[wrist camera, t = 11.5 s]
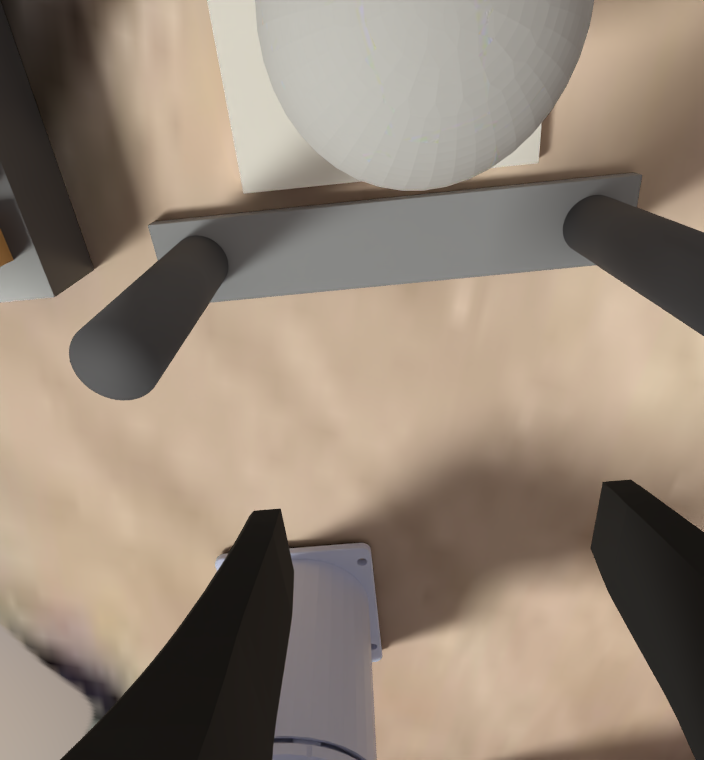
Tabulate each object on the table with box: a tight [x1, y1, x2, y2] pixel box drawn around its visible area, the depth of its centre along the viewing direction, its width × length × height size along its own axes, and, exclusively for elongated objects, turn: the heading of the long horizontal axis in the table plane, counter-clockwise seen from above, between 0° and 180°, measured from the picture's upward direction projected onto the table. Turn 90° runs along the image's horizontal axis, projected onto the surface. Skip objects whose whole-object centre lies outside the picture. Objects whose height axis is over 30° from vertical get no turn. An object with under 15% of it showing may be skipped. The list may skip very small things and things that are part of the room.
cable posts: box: [69, 173, 704, 400], centre depth 15 cm, size 3×17×8 cm, turn 95°
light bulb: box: [255, 0, 594, 191], centre depth 11 cm, size 6×6×10 cm
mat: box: [207, 0, 542, 194], centre depth 16 cm, size 8×10×1 cm
